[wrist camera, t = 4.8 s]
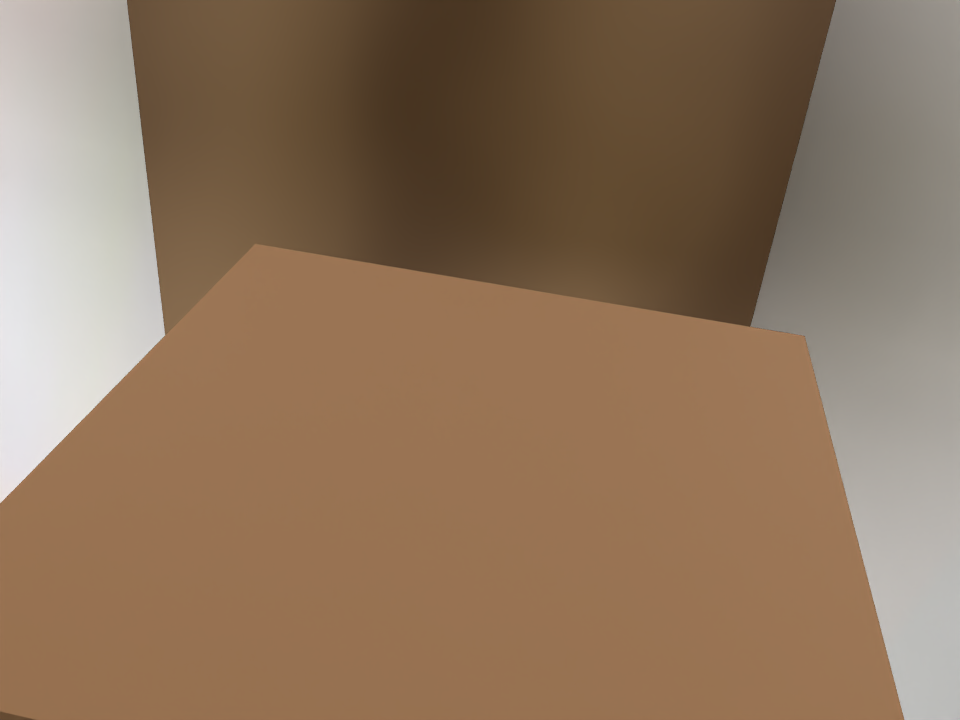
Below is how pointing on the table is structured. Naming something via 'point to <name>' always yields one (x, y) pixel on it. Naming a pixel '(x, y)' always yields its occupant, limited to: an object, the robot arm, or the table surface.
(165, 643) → the terracotta cube
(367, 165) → the walnut board
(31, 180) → the table surface
